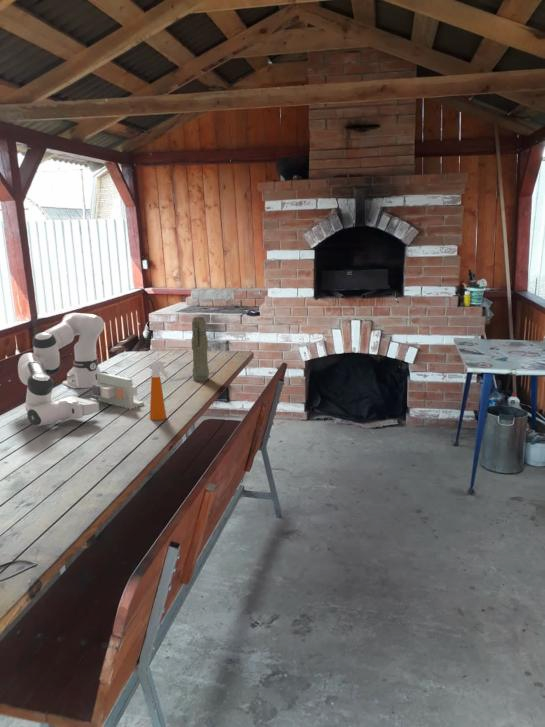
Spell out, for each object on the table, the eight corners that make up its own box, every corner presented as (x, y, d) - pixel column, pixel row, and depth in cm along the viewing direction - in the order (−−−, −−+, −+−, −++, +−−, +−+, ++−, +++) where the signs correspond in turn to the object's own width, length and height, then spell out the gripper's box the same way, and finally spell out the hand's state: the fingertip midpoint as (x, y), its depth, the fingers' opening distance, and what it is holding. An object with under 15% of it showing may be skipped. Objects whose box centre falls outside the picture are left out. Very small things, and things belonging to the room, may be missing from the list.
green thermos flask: (191, 382, 303) (188, 318, 296) (195, 376, 315) (192, 315, 307) (207, 382, 303) (204, 318, 295) (210, 376, 315) (208, 315, 307)
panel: (98, 400, 270) (96, 372, 267) (112, 396, 276) (110, 369, 273) (130, 409, 256) (128, 380, 253) (144, 405, 262) (142, 376, 259)
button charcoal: (92, 394, 264) (92, 385, 263) (108, 390, 271) (107, 381, 270) (98, 396, 261) (98, 386, 260) (114, 391, 268) (113, 382, 267)
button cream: (102, 396, 260) (101, 387, 259) (117, 392, 266) (116, 383, 265) (108, 398, 257) (107, 388, 256) (123, 394, 264) (122, 384, 263)
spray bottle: (164, 423, 237) (161, 363, 231) (146, 418, 242) (142, 360, 236) (176, 418, 242) (173, 359, 237) (157, 414, 248) (154, 357, 242)
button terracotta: (116, 398, 258) (115, 388, 257) (131, 393, 264) (130, 384, 263) (122, 399, 255) (121, 390, 254) (137, 395, 262) (136, 385, 261)
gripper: (53, 410, 242) (81, 403, 253) (82, 419, 230) (109, 411, 241) (52, 397, 241) (80, 389, 251) (80, 404, 229) (108, 397, 240)
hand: (94, 400), depth 246 cm, fingers closed
